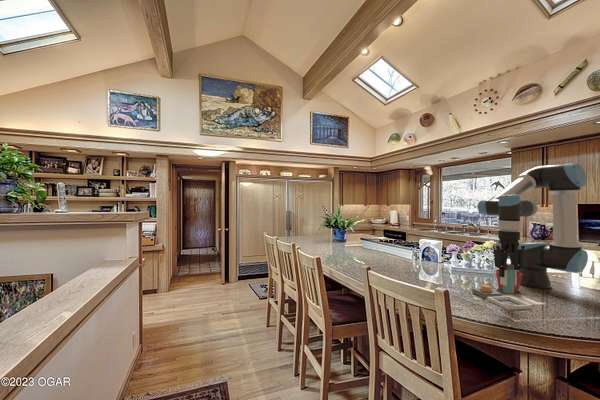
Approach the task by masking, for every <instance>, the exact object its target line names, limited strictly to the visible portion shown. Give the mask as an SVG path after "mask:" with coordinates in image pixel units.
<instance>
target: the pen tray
mask: <svg viewBox="0 0 600 400" xmlns="http://www.w3.org/2000/svg"><path fill="white" fill-rule="evenodd" d="M486 300H487V301H489V302H490V303H493V304H494V305H497V306H498V307H502V308H503V309H505V310H508V311H509V310H510V311H511V310H512V311H513V310H532V306H533V305H529V304H527V303H524V302H522V301H519V300H517V299H515V298H512V297H510V296H502V295H501V297H487V299H486ZM501 301H510V302H512V303H514V304H509V305H508V304H506V303H503V302H501Z"/></svg>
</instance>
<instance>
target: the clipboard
mask: <svg viewBox="0 0 600 400" xmlns="http://www.w3.org/2000/svg"><path fill="white" fill-rule="evenodd" d="M501 296H510V297H512V298H515V299H517V300H519V301H522V302H524V303H527V304H529V305H532V306H533V305H534V306H535V305H536V306H537V305H546V303H545V302H543V301H542V300H541V299H538V298H535V297H534V296H533V297H532V296H530V295H523V294H521V293H520V294H501Z"/></svg>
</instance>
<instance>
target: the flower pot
mask: <svg viewBox="0 0 600 400" xmlns="http://www.w3.org/2000/svg"><path fill="white" fill-rule="evenodd" d="M495 275H496V282H497V286H498V289H500V290H501V291H503V284H500V276H499V268H497V269H495ZM521 279H522V273H520V272H518V276H517V285H514V293H516V292H519V289H520V287H521V284H520V283H521Z"/></svg>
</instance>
